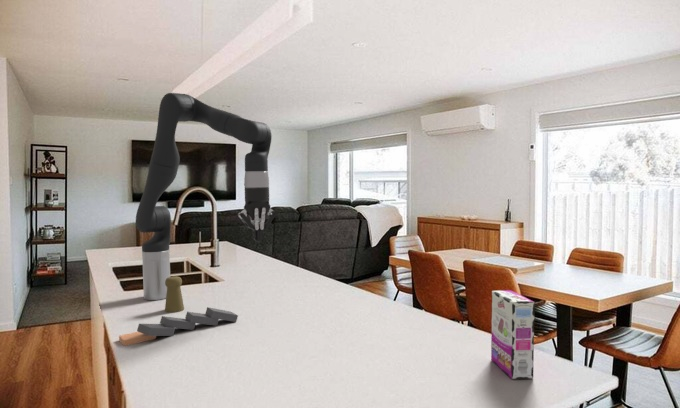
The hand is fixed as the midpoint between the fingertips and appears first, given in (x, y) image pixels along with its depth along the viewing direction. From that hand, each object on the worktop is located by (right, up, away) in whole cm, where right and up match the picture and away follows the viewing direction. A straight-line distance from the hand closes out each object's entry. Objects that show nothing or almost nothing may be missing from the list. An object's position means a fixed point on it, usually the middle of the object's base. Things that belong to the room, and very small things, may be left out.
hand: (258, 241), depth 146 cm
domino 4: (-7, -22, -4) cm, 24 cm away
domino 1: (-22, -23, -17) cm, 36 cm away
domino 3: (-11, -23, -8) cm, 27 cm away
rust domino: (-26, -24, -18) cm, 40 cm away
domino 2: (-17, -23, -11) cm, 31 cm away
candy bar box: (+63, -25, -43) cm, 81 cm away
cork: (-29, -23, +7) cm, 38 cm away
